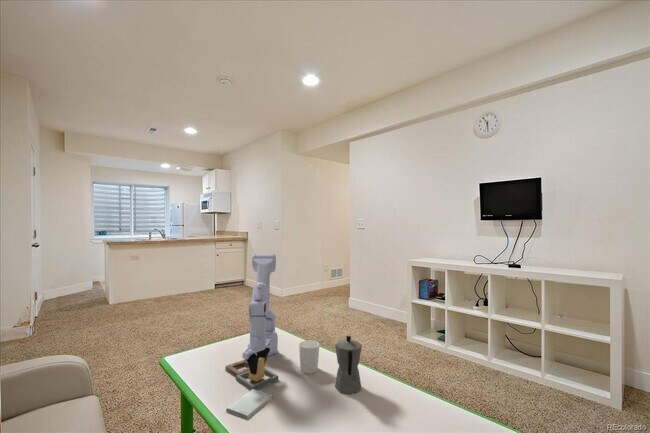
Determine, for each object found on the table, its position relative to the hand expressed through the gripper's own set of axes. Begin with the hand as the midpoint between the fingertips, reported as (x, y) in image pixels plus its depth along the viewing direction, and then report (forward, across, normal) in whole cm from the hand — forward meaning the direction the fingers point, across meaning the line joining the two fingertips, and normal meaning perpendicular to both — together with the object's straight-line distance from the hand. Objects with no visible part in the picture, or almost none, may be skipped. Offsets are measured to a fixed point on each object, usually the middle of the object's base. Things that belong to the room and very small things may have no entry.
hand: (257, 371), depth 114 cm
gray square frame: (+3, 0, 0) cm, 3 cm away
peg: (+3, 0, 0) cm, 3 cm away
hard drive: (+4, +13, +7) cm, 16 cm away
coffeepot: (+3, -9, +32) cm, 34 cm away
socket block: (+3, -4, -10) cm, 11 cm away
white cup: (+3, -15, +13) cm, 21 cm away
